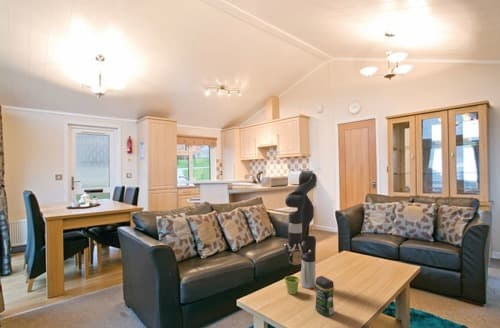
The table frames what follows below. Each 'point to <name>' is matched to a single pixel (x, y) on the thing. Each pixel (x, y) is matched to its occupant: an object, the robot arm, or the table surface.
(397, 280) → the table surface
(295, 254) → the walnut block
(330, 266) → the table surface
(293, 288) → the plant pot
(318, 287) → the coffee jar
